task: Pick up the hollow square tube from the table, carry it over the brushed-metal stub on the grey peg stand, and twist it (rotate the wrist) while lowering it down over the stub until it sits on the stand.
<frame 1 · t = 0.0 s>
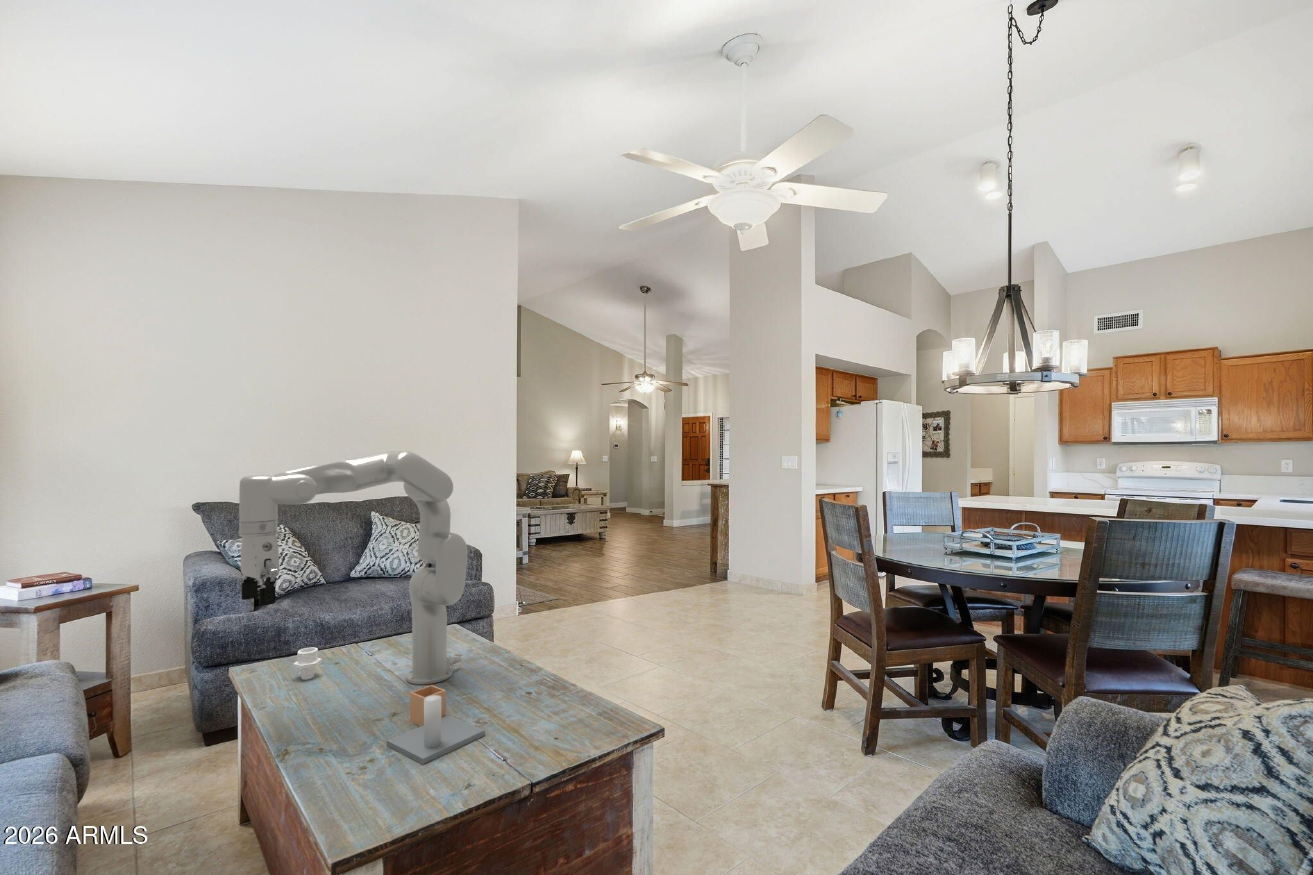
hand: (258, 601, 142), 31 cm above the table, fingers open, 9 cm apart
hollow square tube: (427, 720, 150), on the table
grey peg stand: (436, 740, 139), on the table
pipe fitting: (307, 678, 178), on the table
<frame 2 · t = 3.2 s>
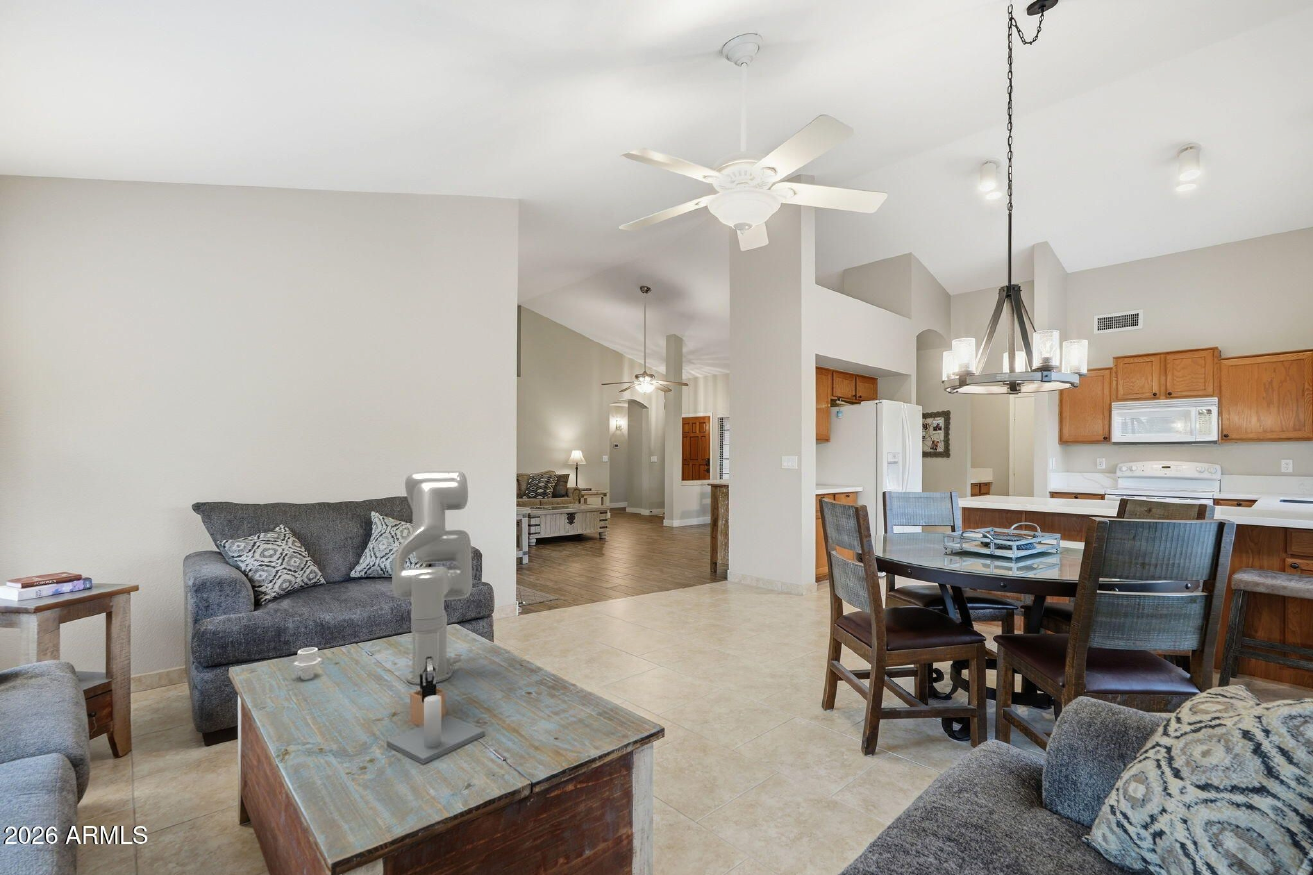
hand: (427, 694, 149), 7 cm above the table, fingers open, 9 cm apart
hollow square tube: (427, 720, 150), on the table, touching gripper
everything else where it was.
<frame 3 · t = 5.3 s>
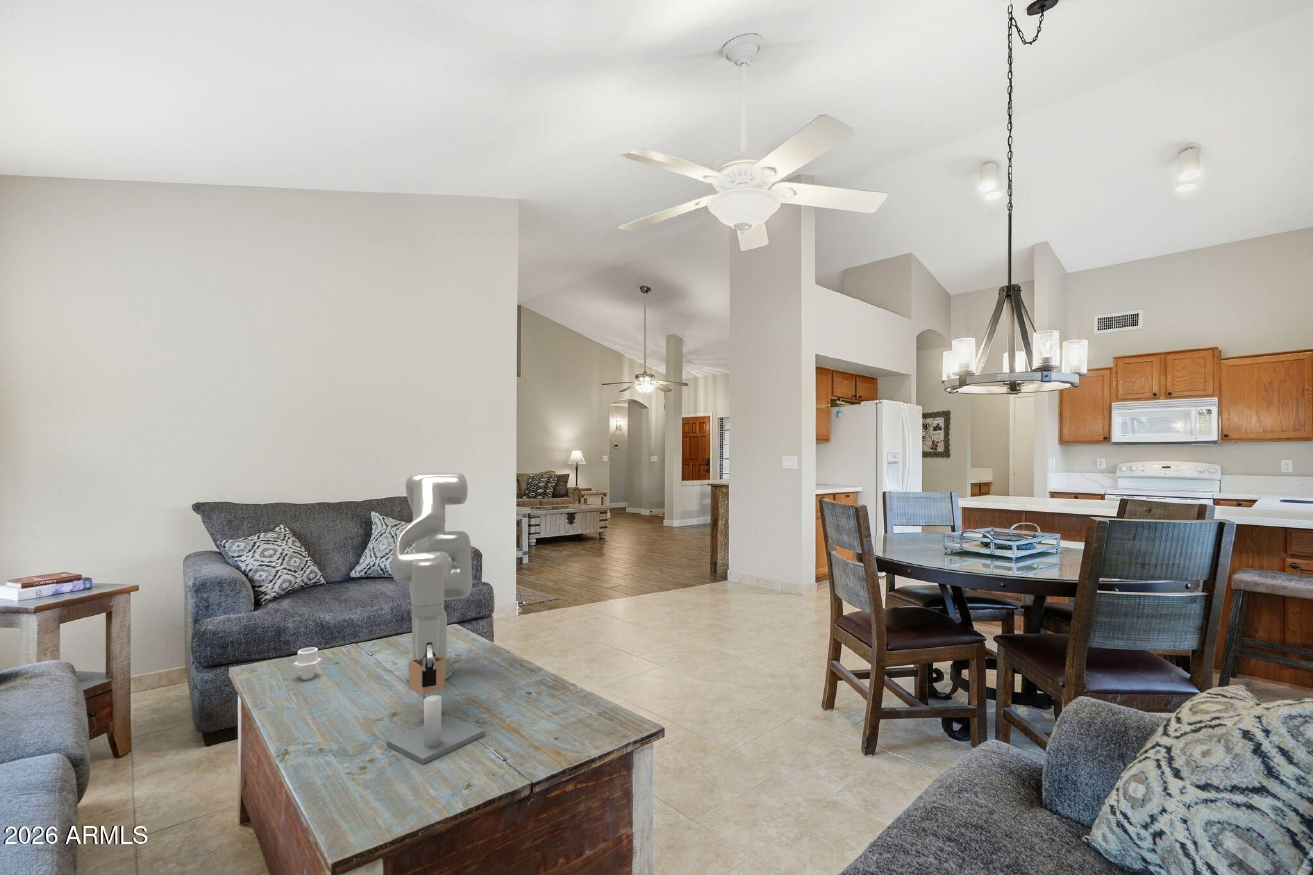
hand: (427, 678, 151), 10 cm above the table, fingers closed on hollow square tube, 8 cm apart
hollow square tube: (426, 687, 151), point 7 cm above the table, touching gripper
everything else where it was.
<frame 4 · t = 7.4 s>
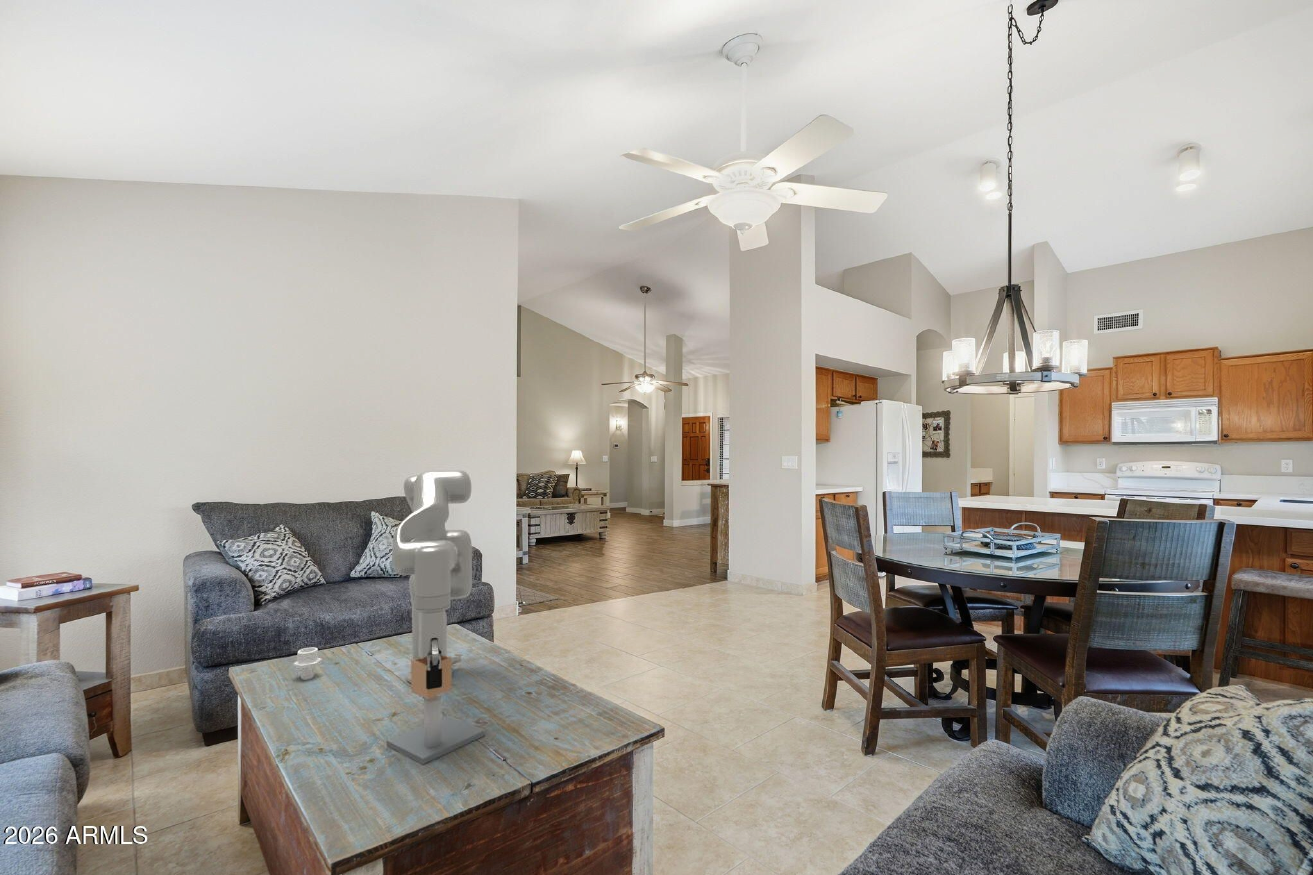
hand: (432, 680, 135), 15 cm above the table, fingers closed on hollow square tube, 8 cm apart
hollow square tube: (431, 690, 135), point 13 cm above the table, touching gripper
everything else where it was.
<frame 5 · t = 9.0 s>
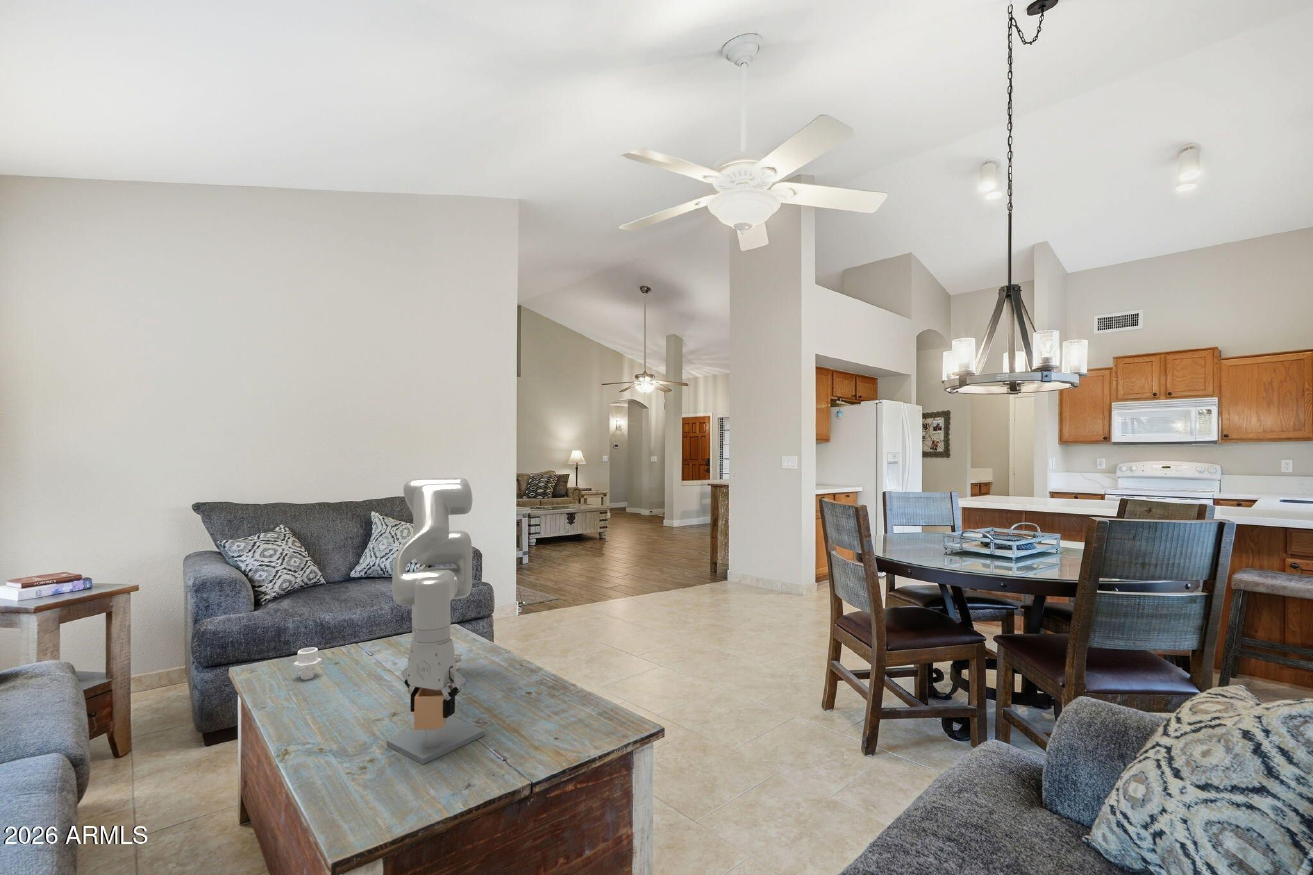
hand: (432, 712, 135), 8 cm above the table, fingers closed on hollow square tube, 8 cm apart
hollow square tube: (431, 722, 135), point 6 cm above the table, touching gripper
everything else where it was.
when the fingers open (4 cm above the table, at t = 10.6 s): hollow square tube stays where it is, resting on grey peg stand.
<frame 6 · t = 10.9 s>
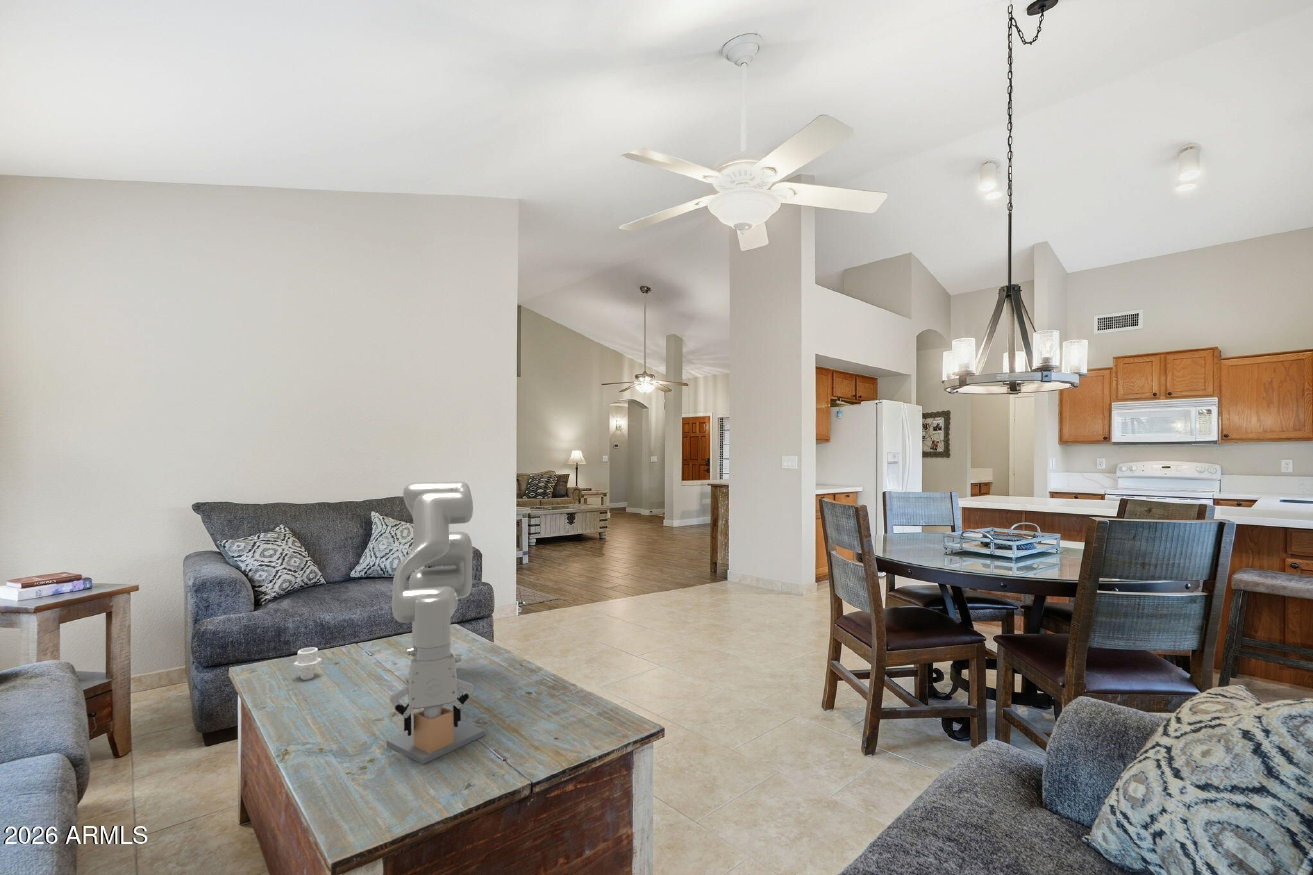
hand: (432, 728, 135), 5 cm above the table, fingers open, 9 cm apart
hollow square tube: (433, 744, 135), point 1 cm above the table, touching grey peg stand
everything else where it was.
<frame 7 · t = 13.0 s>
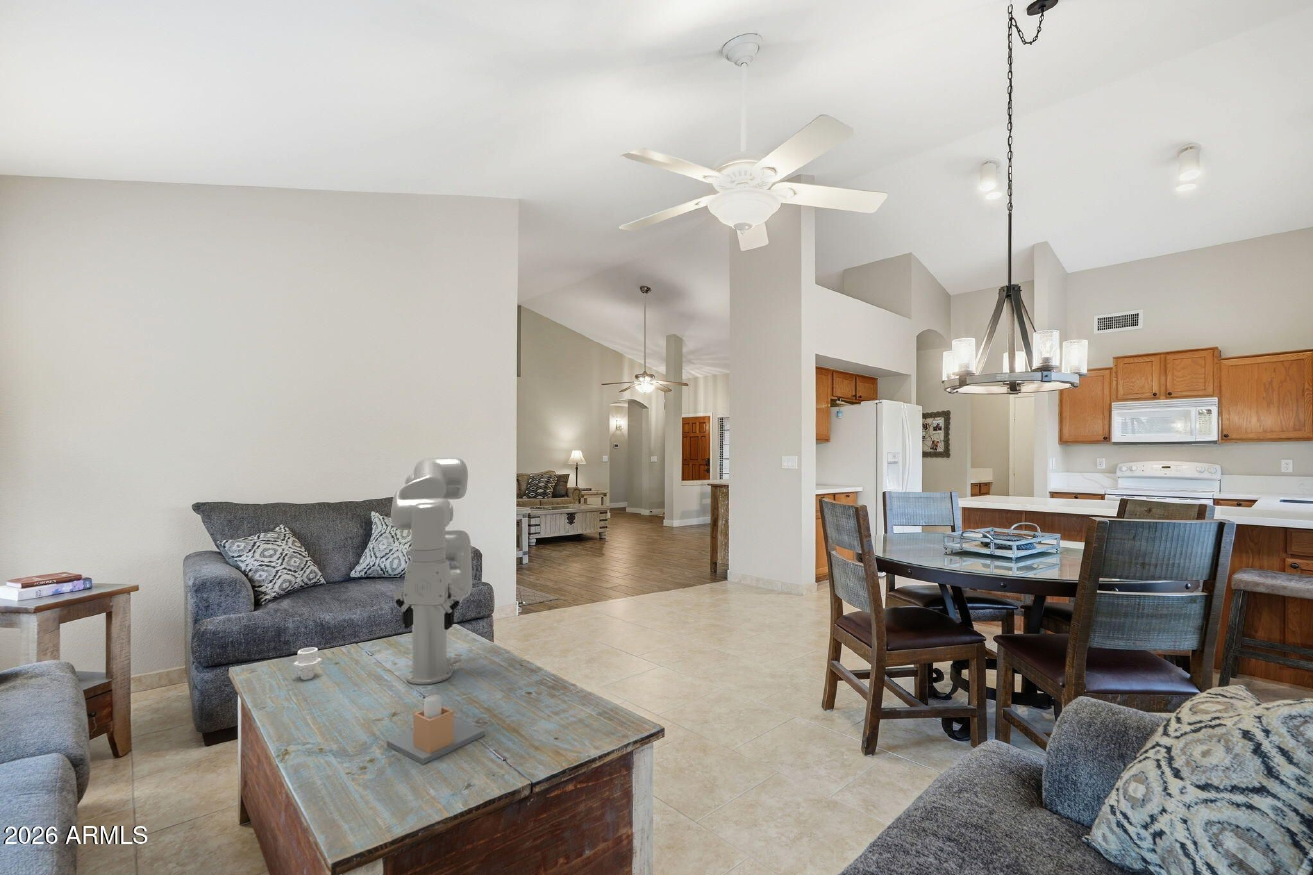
hand: (428, 627, 144), 24 cm above the table, fingers open, 9 cm apart
nothing on the table moved.
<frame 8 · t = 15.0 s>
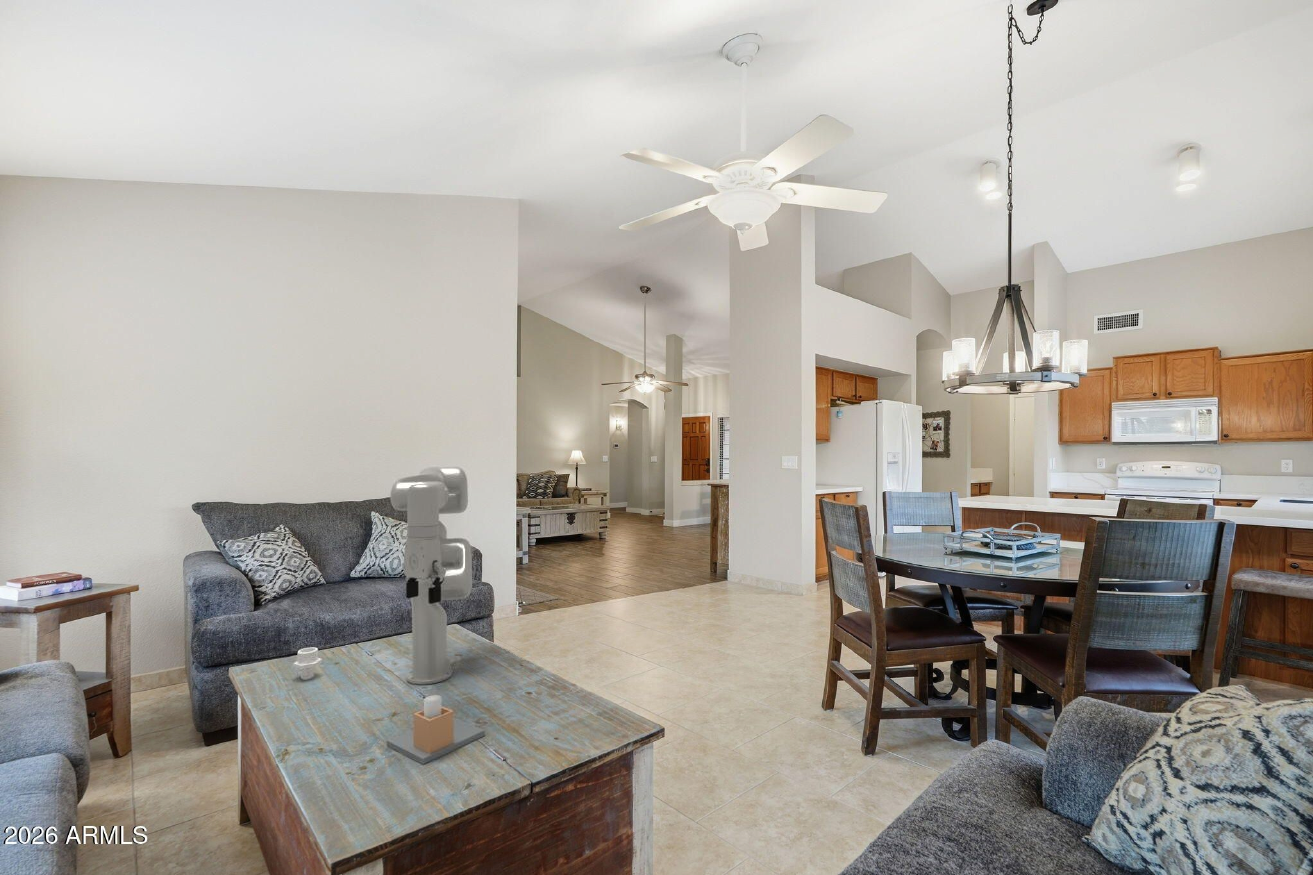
hand: (423, 599, 155), 28 cm above the table, fingers open, 9 cm apart
nothing on the table moved.
at the end: hollow square tube 0.2 cm from the target spot on the grey peg stand, point 1.2 cm above the grey peg stand's base; hollow square tube tilted 0°; the gripper is holding nothing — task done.
